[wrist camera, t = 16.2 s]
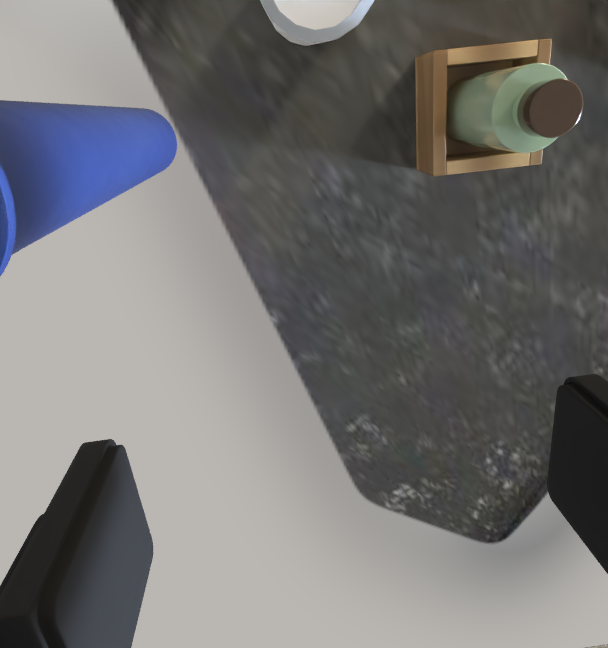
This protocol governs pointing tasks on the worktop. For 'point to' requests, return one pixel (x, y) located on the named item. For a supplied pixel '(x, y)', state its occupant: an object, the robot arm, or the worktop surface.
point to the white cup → (315, 18)
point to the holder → (431, 101)
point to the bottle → (513, 108)
